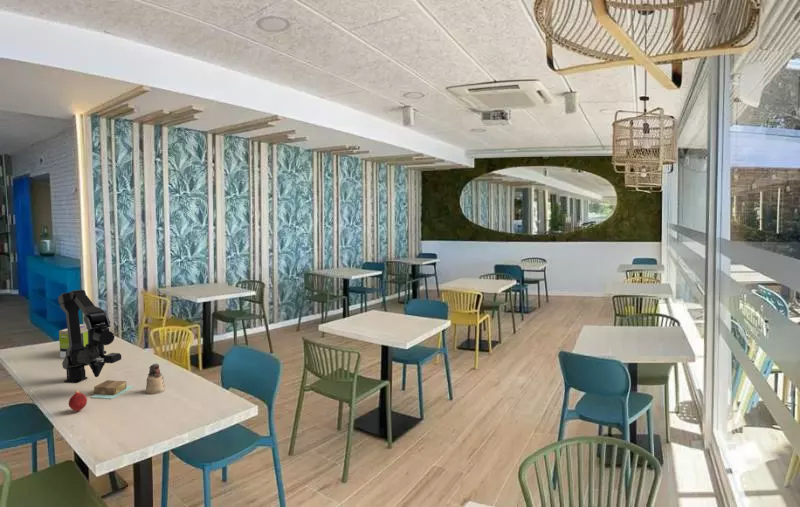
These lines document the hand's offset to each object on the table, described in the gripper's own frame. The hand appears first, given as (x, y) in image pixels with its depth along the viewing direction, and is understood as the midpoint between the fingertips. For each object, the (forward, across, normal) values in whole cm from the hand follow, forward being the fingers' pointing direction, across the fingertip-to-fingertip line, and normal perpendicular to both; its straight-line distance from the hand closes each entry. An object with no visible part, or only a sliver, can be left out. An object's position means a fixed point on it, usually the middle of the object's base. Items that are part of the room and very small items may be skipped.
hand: (96, 376), depth 205 cm
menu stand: (+4, +2, 0) cm, 5 cm away
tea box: (+7, -45, +47) cm, 66 cm away
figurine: (+6, +24, +4) cm, 25 cm away
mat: (+6, +7, 0) cm, 9 cm away
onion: (+6, +8, -20) cm, 23 cm away
